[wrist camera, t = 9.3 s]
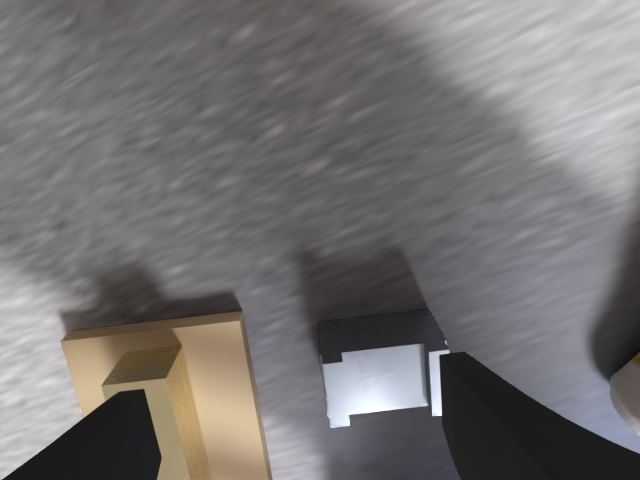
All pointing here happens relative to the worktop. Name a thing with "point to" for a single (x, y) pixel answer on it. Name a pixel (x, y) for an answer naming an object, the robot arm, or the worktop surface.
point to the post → (381, 364)
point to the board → (205, 376)
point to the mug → (627, 393)
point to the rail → (165, 408)
